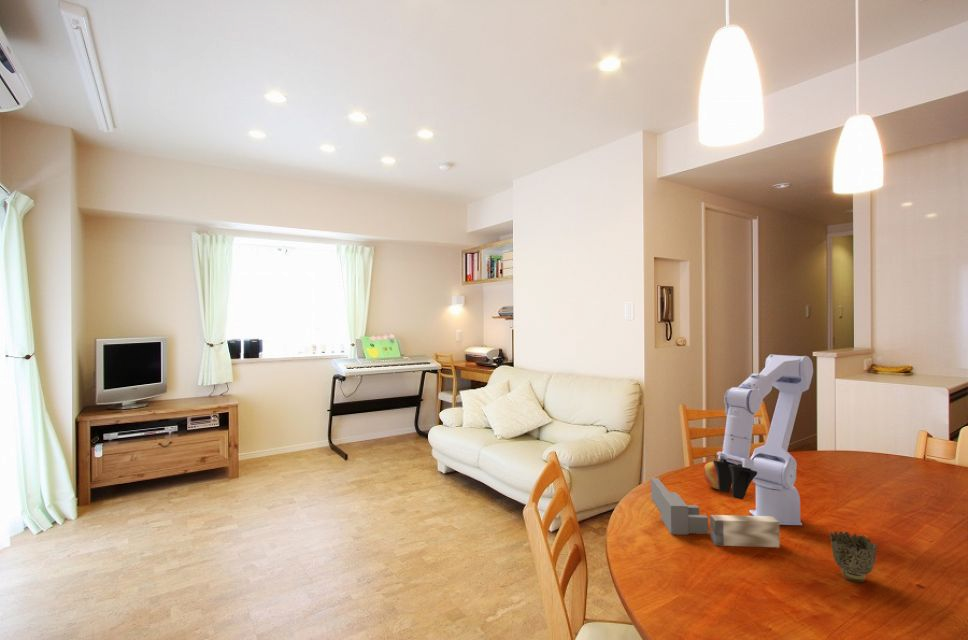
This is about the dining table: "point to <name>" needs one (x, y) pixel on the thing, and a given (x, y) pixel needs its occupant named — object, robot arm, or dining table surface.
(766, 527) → the birch rail
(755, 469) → the robot arm
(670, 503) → the grey stepped block
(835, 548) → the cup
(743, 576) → the dining table surface
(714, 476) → the apple
